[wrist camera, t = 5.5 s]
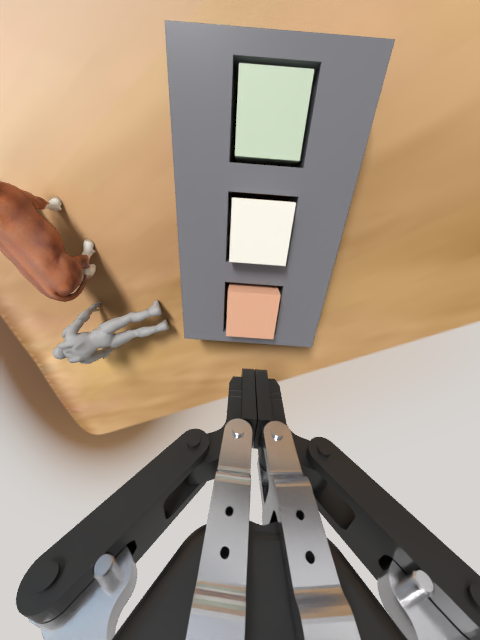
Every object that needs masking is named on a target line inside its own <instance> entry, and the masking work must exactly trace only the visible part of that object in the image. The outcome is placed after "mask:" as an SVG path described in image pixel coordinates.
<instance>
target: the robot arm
mask: <svg viewBox="0 0 480 640" xmlns="http://www.w3.org/2000/svg"><path fill="white" fill-rule="evenodd" d="M252 447H253V448H257V449H258V455H259V457H258V472H259V480H260V489H261V498H262V507H263V508H262V509H263V512H262V522H263V525H259V524H256V523H254V522H251V521H249V510H250V490H251V475H250V469H251V449H252ZM212 479H215V480H214V486H213V492H212V497H211V503H210V509H209V514H208V520H207V524H206V525H204V526H201V527H200V528H198V529H197V530H195V531H194V532H193V533H192V534H191V535H190V536H189V537H188V538H187V539H186V540H185V541H184V542H183V544H182V545H181V546H180V548H179V549H178V550H177V552H176V553H175V554H174V556H173V557H172V558H171V560H170V561H169V562H168V564H167V565H166V567H165V568H164V569H163V571H162V572H161V573H160V575H159V576H158V578H157V579H156V580H155V581H154V583H153V584H152V586H151V587H150V588H149V590H148V591H147V592H146V594H145V595H144V596H143V598H142V599H141V600H140V602H139V603H138V605H137V606H136V607H135V609H134V610H133V611H132V613H131V614H130V616H129V617H128V618H127V620H126V621H125V623H124V624H123V625H122V626H121V628H120V629H119V630H118V632H117V633H116V635H115V628H116V624H117V621H118V618H119V616H120V613H121V611H122V609H123V607H124V606H125V605H126V603H127V601H128V600H129V598H130V597H131V595H132V593H133V590H134V588H135V584H136V579H137V568H136V562H137V561H138V560H139V559H140V558H141V557H142V556H143V554H144V553H145V552H146V551H147V550H148V549H149V548H150V546H151V545H152V544H153V543H154V542H155V541H156V540H157V538H158V537H159V536H160V535H161V534H162V533H163V532H164V530H165V529H166V528H167V527H168V526H169V525H170V524H171V522H172V521H173V520H174V519H175V518H176V517H177V516H178V514H179V513H180V512H181V511H182V510H183V509H184V508H185V506H186V505H187V504H188V503H189V502H190V501H191V499H192V498H193V497H194V496H195V495H196V494H197V493H198V491H199V490H200V489H201V488H202V487H203V486H204V485H205V483H206V482H207V481H209V480H212ZM318 510H319V511H318ZM319 512H320V513H321V514H322V515H323V516H324V518H325V519H326V520H327V521H328V522H329V524H330V525H331V526H332V527H333V528H334V530H335V531H336V532H337V533H338V534H339V535H340V537H341V538H342V539H343V540H344V541H345V543H346V544H347V545H348V546H349V547H350V548H351V550H352V551H353V552H354V553H355V555H356V556H357V557H358V558H359V559H360V561H361V562H362V563H363V564H364V565H365V566H366V568H367V569H368V570H369V571H370V572H371V574H372V575H373V576H374V577H375V578H376V580H377V581H378V590H379V595H380V598H381V600H382V603H383V605H384V608H385V609H386V610H385V609H384V608H383V607H382V605H381V604H380V603H379V601H378V600H377V599H376V598H375V596H374V595H373V593H372V592H371V591H370V590H369V588H368V587H367V586H366V584H365V583H364V582H363V580H362V579H361V578H360V577H359V575H358V574H357V573H356V572H355V570H354V569H353V567H352V566H351V565H350V563H349V562H348V561H347V560H346V558H345V557H344V556H343V554H342V553H341V552H340V551H339V549H338V548H337V547H336V546H335V545H334V544H333V543H332V542H331V541H330V540H329V539H328V538H327V537H326V535H325V531H324V528H323V524H322V521H321V518H320V514H319ZM16 604H17V608H18V610H19V612H20V613H21V614H22V615H24V616H26V617H27V618H28V619H29V621H30V622H31V623H33V624H34V625H36V626H38V627H39V628H41V631H42V635H43V638H44V640H480V576H479V575H478V574H477V573H476V572H474V570H473V569H471V568H470V567H469V566H468V565H467V564H466V563H465V562H464V561H462V560H461V559H460V558H459V557H458V556H457V555H456V554H455V553H454V552H453V551H451V550H450V549H449V548H448V547H447V546H446V545H445V544H444V543H443V542H441V541H440V540H439V539H438V538H437V537H436V536H435V535H434V534H433V533H432V532H430V531H429V530H428V529H427V528H426V527H425V526H424V525H423V524H422V523H421V522H419V521H418V520H417V519H416V518H415V517H414V516H413V515H412V514H410V513H409V512H408V511H407V510H406V509H405V508H404V507H403V506H402V505H401V504H399V503H398V502H397V501H396V500H395V499H394V498H393V497H392V496H390V494H388V493H387V492H386V491H385V490H384V489H383V488H382V487H381V486H379V485H378V484H377V483H376V482H375V481H374V480H373V479H371V477H370V476H368V475H367V474H366V473H365V472H364V471H363V470H362V469H361V468H360V467H359V466H357V465H356V464H355V463H354V462H353V461H352V460H351V459H350V458H348V457H347V456H346V455H345V454H344V453H343V452H342V451H341V450H340V449H339V448H338V447H336V446H335V445H334V444H333V443H332V442H331V441H329V440H327V439H325V438H323V437H315V438H313V439H311V441H309V440H307V439H304V438H301V437H299V436H297V435H295V434H294V433H292V431H291V430H290V429H289V428H288V426H287V424H286V419H285V414H284V408H283V403H282V397H281V392H280V386H279V385H278V383H277V382H276V380H275V379H268V376H267V370H258V369H255V370H254V369H243V368H242V377H234V376H233V378H232V380H231V381H230V383H229V396H228V409H227V419H226V423H225V424H224V426H223V427H222V428H221V429H219V430H217V431H215V432H212V433H208V434H206V433H205V432H204V431H202V430H200V429H191V430H188V431H186V432H185V433H184V434H182V435H181V436H180V437H179V438H178V439H177V440H175V441H174V442H173V443H172V444H171V445H170V446H169V447H167V448H166V449H165V450H164V451H163V452H161V453H160V454H159V455H158V456H157V457H156V458H155V459H153V460H152V461H151V462H150V463H149V464H148V465H146V466H145V467H144V468H143V469H142V470H140V471H139V472H138V473H137V474H136V475H135V476H134V477H133V478H131V479H130V480H129V481H128V482H126V483H125V484H124V485H123V486H122V487H121V488H120V489H118V490H117V491H116V492H115V493H114V494H112V495H111V496H110V497H109V498H108V499H107V500H105V501H104V502H103V503H102V504H101V505H100V506H99V507H97V508H96V509H95V510H94V511H93V512H92V513H90V514H89V515H88V516H87V517H86V518H84V519H83V520H82V521H81V522H80V523H79V524H77V525H76V526H75V527H74V528H73V529H72V530H71V531H69V532H68V533H67V534H66V535H65V536H63V537H62V538H61V539H60V540H59V541H58V542H57V543H55V544H54V545H53V546H52V547H51V548H50V549H48V550H47V551H46V552H45V553H44V554H42V555H41V556H40V557H39V558H38V559H37V560H36V561H35V562H34V563H33V564H32V566H31V567H30V568H29V569H28V571H27V573H26V574H25V575H24V577H23V579H22V581H21V583H20V586H19V589H18V592H17V597H16ZM386 611H387V612H388V613H389V614H388V613H387V612H386ZM389 615H390V616H391V617H390V616H389ZM392 619H393V620H392ZM114 635H115V636H114Z"/></svg>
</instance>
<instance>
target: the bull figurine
mask: <svg viewBox="0 0 480 640" xmlns="http://www.w3.org/2000/svg"><path fill="white" fill-rule="evenodd" d="M61 205H62V202H61V200H60V199H59V198H58V197H52V198H51V200H50V201H45V200H44V199H42V198H40V197H35V196H34V195H32V194H31V193H29V192H26V191H23V190H21V189H19V188H17V187H15V186H13V185H11V184H8V183H5V182H2V181H0V251H1V252H2V253H3V254H4V255H5V256H6V257H7V258H8V259H9V260H10V261H11V262H12V263H13V264H14V265H15V266H16V267H17V269H18V270H19V271H20V273H21V274H22V275H23V276H24V277H25V278H26V279H27V280H28V281H29V282H30V283H32V284H33V285H34V286H35V287H36V288H37V289H38V290H39V291H40V292H41V293H42V294H44V295H45V296H47V297H49V298H51V299H55V300H58V301H63V302H66V301H70V300H73V299H75V298H76V297H77V296H79V294H80V293H81V292H82V290H83V289H84V286H85V284H86V282H87V281H88V280H89V279H90V278H91V277H92V276H93V274H94V273H95V271H96V266H95V265H94V264H89V260H90V257H91V256H92V254H93V253H95V250H93V246H94V243H93V242H92V241H91V240H90V239H85V240H84V243H83V253H82V254H81V255H79V256H69V255H67V254H66V253H65V250H64V244H63V240H62V238H61V236H60V234H59V232H58V231H57V229H56V228H55V227H54V226H53V225H52V224H51V223H50V222H49V221H48V220H46V219H45V218H44V217H42V216H41V215H40V214H39V213H38V212H37V210H36V209H51V210H53V211H57V210H59V211H60V210H62V208H61V207H60V206H61ZM82 280H83V281H82ZM81 281H82V283H81ZM80 283H81V285H80ZM79 285H80V287H79V288H78V289H77V291H76V292H74V293H73V294H71V293H72V292H73V291H74V290H75V289H76V288H77V287H78V286H79Z"/></svg>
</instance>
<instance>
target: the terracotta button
mask: <svg viewBox="0 0 480 640" xmlns="http://www.w3.org/2000/svg"><path fill="white" fill-rule="evenodd" d="M280 296H281V295H280V292H279V289H278V286H275V285H261V284H248V283H234V282H230V283H229V288H228V299H227V322H226V336H233V337H247V338H261V339H273V338H274V332H275V326H276V320H277V314H278V308H279V302H280Z"/></svg>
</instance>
